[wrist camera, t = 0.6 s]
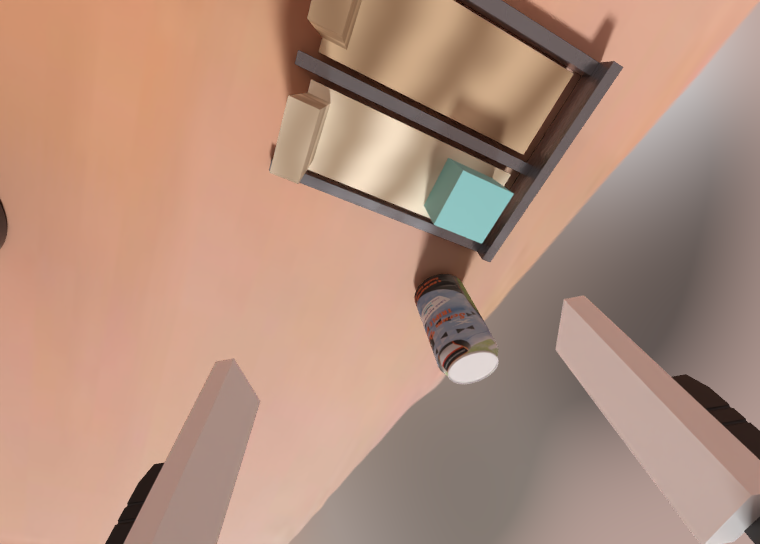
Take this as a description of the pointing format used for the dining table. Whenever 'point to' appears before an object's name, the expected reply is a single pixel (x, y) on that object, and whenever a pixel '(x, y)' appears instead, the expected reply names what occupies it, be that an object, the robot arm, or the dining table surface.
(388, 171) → the beige long angled piece
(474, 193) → the block
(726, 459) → the robot arm
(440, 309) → the beverage can
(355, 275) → the dining table surface
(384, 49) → the strip oak
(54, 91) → the dining table surface
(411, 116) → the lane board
